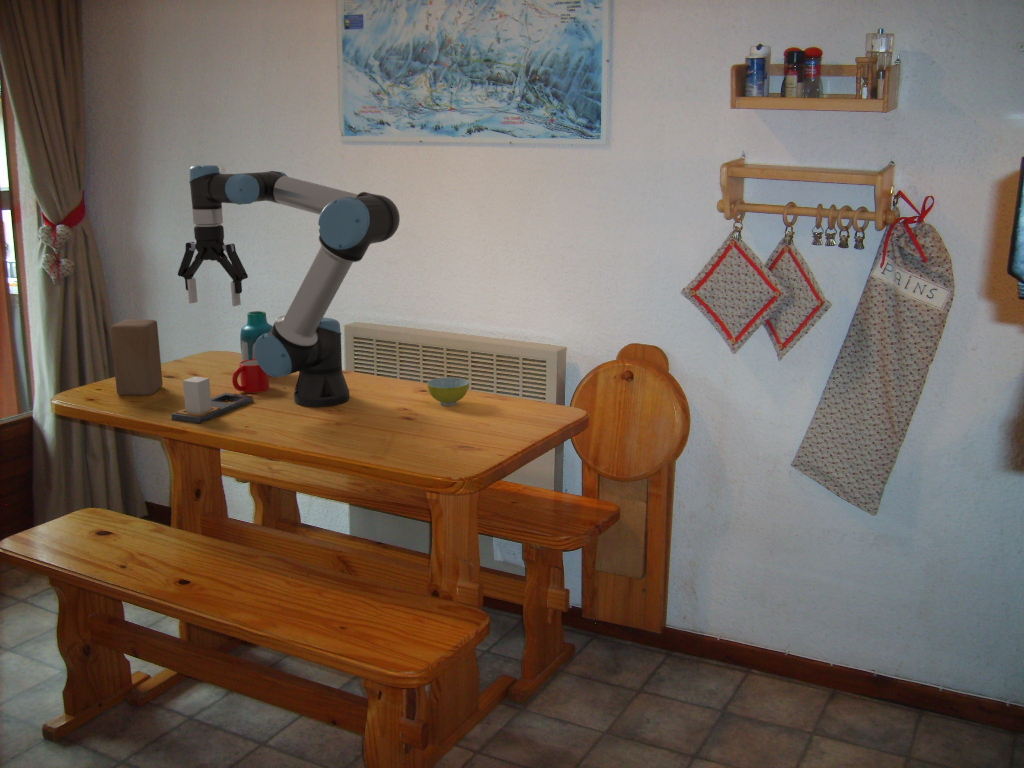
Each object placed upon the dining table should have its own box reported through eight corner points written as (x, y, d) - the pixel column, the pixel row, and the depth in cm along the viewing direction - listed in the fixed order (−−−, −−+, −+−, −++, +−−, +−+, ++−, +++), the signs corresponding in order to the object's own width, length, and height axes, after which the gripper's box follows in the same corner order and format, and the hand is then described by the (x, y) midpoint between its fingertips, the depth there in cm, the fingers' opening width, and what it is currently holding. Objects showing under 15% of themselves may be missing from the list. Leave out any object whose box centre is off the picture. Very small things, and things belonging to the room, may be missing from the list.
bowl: (420, 401, 269) (420, 380, 267) (457, 396, 274) (457, 375, 273) (438, 412, 259) (437, 389, 258) (476, 406, 265) (476, 384, 263)
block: (151, 396, 272) (144, 326, 267) (115, 395, 272) (108, 325, 267) (164, 386, 282) (158, 319, 276) (130, 386, 282) (123, 318, 276)
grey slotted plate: (252, 401, 268) (252, 395, 267) (200, 423, 248) (199, 417, 248) (225, 397, 271) (225, 391, 271) (171, 419, 251) (171, 413, 251)
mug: (224, 393, 275) (222, 366, 273) (255, 383, 285) (253, 357, 283) (245, 397, 272) (243, 370, 270) (275, 387, 282) (273, 361, 280)
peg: (212, 415, 255) (209, 378, 253) (200, 419, 251) (197, 382, 249) (197, 413, 257) (194, 376, 254) (186, 417, 253) (182, 380, 250)
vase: (285, 373, 297) (282, 311, 292) (259, 380, 289) (255, 317, 284) (260, 368, 303) (257, 307, 298) (234, 375, 294) (230, 313, 289)
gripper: (257, 225, 257) (262, 304, 263) (177, 222, 265) (184, 299, 270) (241, 227, 250) (247, 309, 256) (159, 224, 258) (167, 303, 263)
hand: (214, 304), depth 263 cm, fingers open, 13 cm apart
